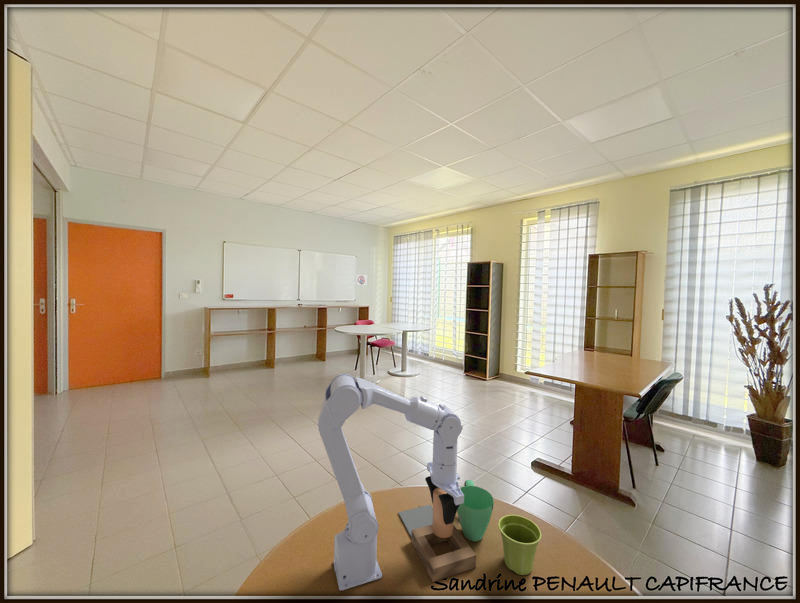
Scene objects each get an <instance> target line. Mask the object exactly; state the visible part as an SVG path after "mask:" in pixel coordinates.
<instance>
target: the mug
mask: <svg viewBox="0 0 800 603" xmlns="http://www.w3.org/2000/svg"><path fill="white" fill-rule="evenodd" d="M463 485H464V486H461V487H460V489H461V492H462V493H463V494H464V503H463V504H460V506H459V508H458V510H457V512H456V514H457V515H458V520H459V523H460V527H461V530H462V532H463V535H464V537H465V538H466V539H467V538H468V539H467V540H469V541H471V540H472V541H471V542H479V541H478V540H480V541H481V540H482V539H483V537H484V535H485V534H486V531H487V528H488V526H489V524H490V521H491V519H492V514H493V510H494V506H495V499H494V497H493V495H492V494H491V493H490V492H489V491H488V490H487V489H484V488H482V487H479V486H476V485H475V483H474V480H471V479H466V480H465V481H464V484H463Z"/></svg>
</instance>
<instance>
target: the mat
mask: <svg viewBox="0 0 800 603" xmlns="http://www.w3.org/2000/svg"><path fill="white" fill-rule="evenodd" d="M398 516H399V518H400V519H401V521H402V523H403V525H404V526H405V529H406V531H407V532H408V534H409V536H410V537H411V533H412V530H414V529H417V528H421V527H425V526H428V525H432V520H433V505H431V504H426V505H423V506H418V507H415V508H410V509H407V510H403V511H399V512H398Z"/></svg>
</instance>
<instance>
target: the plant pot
mask: <svg viewBox="0 0 800 603" xmlns="http://www.w3.org/2000/svg"><path fill="white" fill-rule="evenodd" d="M497 525H498V529H499V531H500V535H501V538H502V547H503V557H504V558H503V559H504V563H505V565H506V567H507V568H508V569H509V570H511V571H513V572H514V573H515V574H517V575H521V576H526V575H529V574H530V573H531V572H532V570H533V568H534V562H535V556H536V551H537V547H538V546H539V543H540V541H541V539H542V531H541V529H540V528H539V526H538V525H537V524H536V522H534V521H532V520H531V519H529V518H527V517H526V516H525V517H524V516H522V515H518V514H507V515H504V516H502V517H500V519H499V520H498V524H497Z"/></svg>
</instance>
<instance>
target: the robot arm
mask: <svg viewBox="0 0 800 603" xmlns="http://www.w3.org/2000/svg"><path fill="white" fill-rule="evenodd" d="M372 405H377V406H380V407H381V408H382V407H383V408H385V409H389V410H392V411H396V412H397V413H398V412H399V413H402V414H404V417H405V419H406V421H407V422H409V423H412V424H415V425H416V426H417V425H418V426H419V427H422V428H425V429H426V430H427V429H428V430H429V431H433V439H432V461H429V462H427V463H426V470H427V472H428V473H429V476H426V477H425V479H424V480H425V482H426V484H427V487H428V489H429V493H430V497H431V504H432V505H433V491H434V490H435V489H436V488H438V487H439V488H440V489H442V490H443V491H445V492H446V493H447V494H442V495H439V499H440V501H441V504H442V508H443V519H444V523H445V524H446V525H448V524H451V523H453V524H454V521H455V518H456V515H457V510H458V508H459V506H460V504H463V503H464V494H463V493H462V492H461V489H460V488H461V487H460V482H459V480H461V475H460V474H459V473H457V470H458V469H457V466H458V438H459V436H460V435H461V433H462V431H463V429H464V428H463V427H464V425H462V420H461V419H460V417H459V416H458V415H457V414H456V413H454V412H453V410H452V409H450V408H449V407H448V406H447V405H445V404H440V403H439V404H436V403H433V402H430V401H428V398H427V397H425V396H423V395H421V396H420V397H418V396H412V397H410V398H407V397H404V396H402V395H400V394H398V393H395V392H393V391H391V390H388V389H387V388H384V387H382V386H380V385H378V384H375V383H373V382H370V381H368V380H366V379H364V378H361V377H357V376H356V377H353V376H352V375H351V374H348V373H340V374H337V375H336V376H335V377H334V378H333V379H332V380H331V381H330V383H329V384H328V386H327V387H326V389H325V393H324V398H323V401H322V404H321V408H320V413H319V415H318V420H317V429H318V432H319V435H320V437H321V441H322V443H323V446H324V449H325V451H326V455H327V457H328V461H329V462H330V465H331V467H332V470H333V474H334V476H335V479H336V481H337V485H338V488H339V490H340V493H341V495H342V496H341V497H342V498H343V501H344V506H345V511H346V514H347V522H346V526H345V528H344V529H343V530H342V531H340V532H339V533H336V534H335V535H334V538H333V539H334V540H333V541H334V543H333V544H334V545H333V546H334V547H333V554H334V555H333V568H334V573H335V576H336V581H337V586H338V590H339V591H346V590H348V589H351V588H354V587H357V586H361V585H363V584H367V583H370V582H372V581H373V582H374V581H377V580H380V579H382V578H383V573H382V570H381V568H380V565H379V562H378V560H377V558H378V557H377V555H378V554H377V551H378V550H377V548H378V546H377V545H378V532H379V522H378V520H377V517H376V512H375V509H374V504H373V497H372V495H371V494H370V493H369V492H368V491H367V490H366V489H365V486H364V484H363V482H362V481H361V478H360V475H359V473H358V469H357V466H356V464H355V461H354V459H353V456H352V453H351V449H350V446H349V445H348V442H347V441H348V440H347V439H346V435H345V432H344V430H343V425H344V424H345V422H346V420H348V419H349V418H350V417H351V416H352V415H353V414H354V413H356V412H357V410H358V409H359V408H360V406H361V409H362V410H365V409H367V408H369V407H370V406H372Z"/></svg>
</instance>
